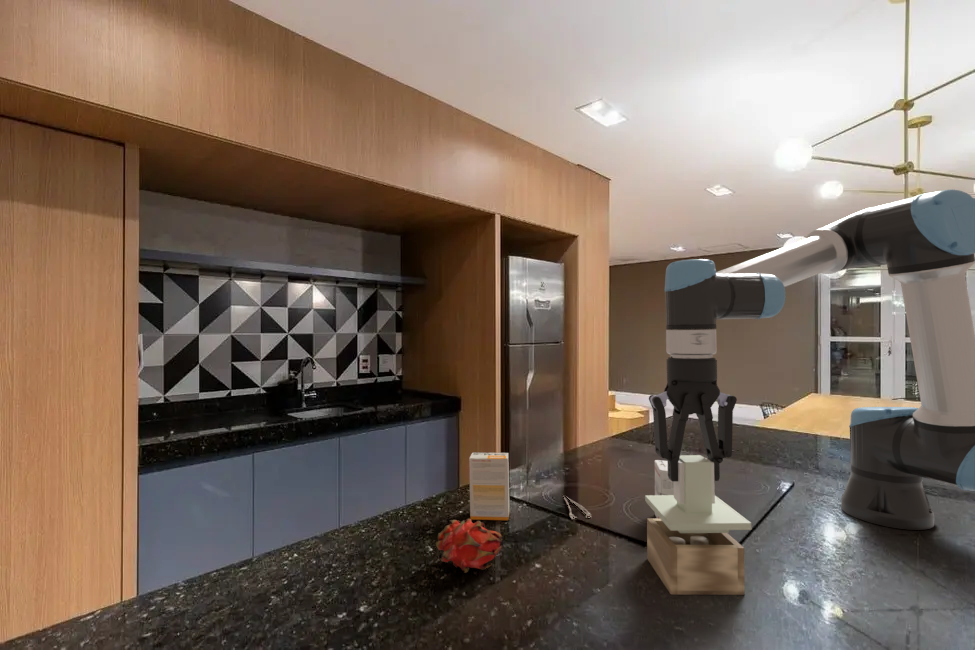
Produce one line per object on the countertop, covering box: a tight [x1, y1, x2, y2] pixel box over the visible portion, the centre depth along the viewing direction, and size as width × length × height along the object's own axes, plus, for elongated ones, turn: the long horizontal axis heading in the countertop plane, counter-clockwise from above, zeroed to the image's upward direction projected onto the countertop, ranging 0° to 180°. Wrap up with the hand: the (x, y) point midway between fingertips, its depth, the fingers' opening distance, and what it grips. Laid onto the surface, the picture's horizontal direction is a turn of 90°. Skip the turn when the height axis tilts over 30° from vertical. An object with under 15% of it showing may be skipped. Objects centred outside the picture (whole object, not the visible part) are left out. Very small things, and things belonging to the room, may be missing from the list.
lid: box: [644, 454, 752, 534], centre depth 77 cm, size 12×12×10 cm
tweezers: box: [562, 495, 592, 520], centre depth 108 cm, size 17×5×2 cm, turn 6°
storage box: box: [646, 517, 746, 596], centre depth 77 cm, size 11×11×7 cm
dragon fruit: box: [434, 518, 506, 574], centre depth 80 cm, size 8×8×12 cm
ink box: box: [654, 459, 674, 518], centre depth 98 cm, size 9×5×12 cm, turn 168°
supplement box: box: [468, 452, 510, 521], centre depth 101 cm, size 8×5×13 cm, turn 84°
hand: (693, 500), depth 77 cm, fingers closed on lid, 4 cm apart
